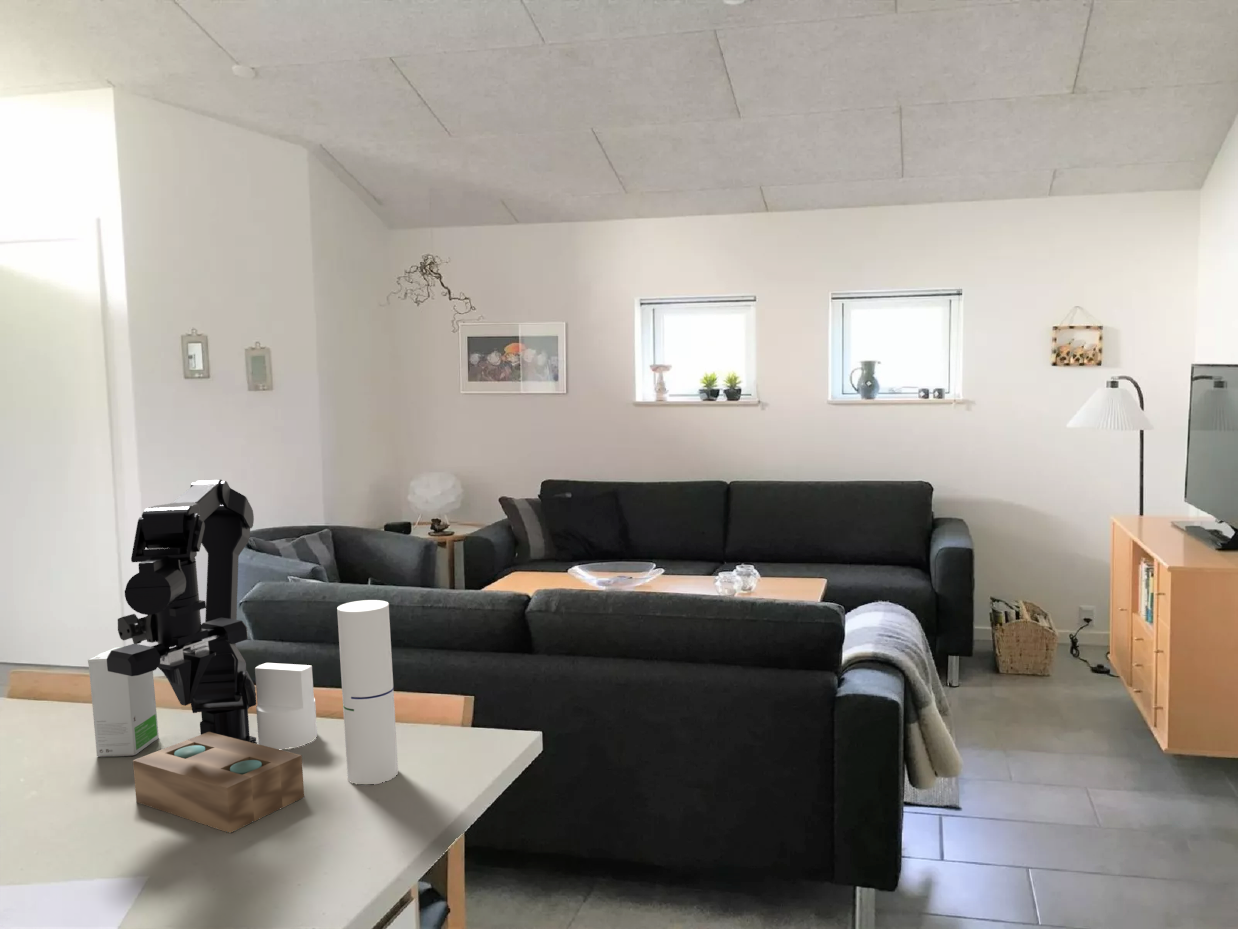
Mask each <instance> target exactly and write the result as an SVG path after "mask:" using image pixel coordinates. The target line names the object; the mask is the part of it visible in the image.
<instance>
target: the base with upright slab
mask: <svg viewBox="0 0 1238 929" xmlns="http://www.w3.org/2000/svg"><path fill="white" fill-rule="evenodd" d="M254 672H255V673H254V674H255V692H256V705H255V706H256V707H255V708H256V709H255V711H256V723H257V739H258V740H257V741H258V744H259V745H263V746H267V747H271V748H275V749H285V748H289V747H297V746H300V745H303V744H307V743H308V742H310V741H312V740H313V739H314V738H315V737H317V738H318V726H317V723H318V722H317V710H316V698H315V697H314V696H315V695H314V678H313V666H312V665H309V664H308V665H307V664H297V663H296V664H295V663H294V664H293V663H276V662H265V663H262V664H258V665H257V666H256V667H255V668H254ZM307 745H308V744H307Z"/></svg>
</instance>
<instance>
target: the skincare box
mask: <svg viewBox="0 0 1238 929" xmlns="http://www.w3.org/2000/svg"><path fill="white" fill-rule="evenodd" d="M149 646H150V647H151V646H152V645H149ZM121 647H122V646H119V647H118V646H117V647H116V646H115V647H113V648H111V649H108V650H107V651H104V652H103V651H102V652H100V653H98V654H97V655H96V656H93V657H91V658H89V659H87V664H88V673H89V674H88V675H89V684H90V693H91V694H90V696H91V703H92V705H91V706H92V716H93V717H92V718H93V728H94V729H93V730H94V736H95V750H96V757H100V758H101V757H129V756H136V755H138V754H139V752H141V751H143V750H144V749H145V748H147V747H149V745H151V744H152V743H155V741H157V740H158V739H159V737H160V736H159V735H160V734H159V727H158V723H159V722H158V714H157V713H158V712H157V705H156V704H157V702H156V693H155V692H156V691H155V680H154V671H151V672H148V673H145V674H141V675H138V676H128V675H123V674H119V673H114V672H109V671H108V669H107V657H108V655H109V653H110V652H111V650H114V649H118V648H121Z"/></svg>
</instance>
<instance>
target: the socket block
mask: <svg viewBox="0 0 1238 929" xmlns="http://www.w3.org/2000/svg"><path fill="white" fill-rule="evenodd" d="M194 745H200V746H204V747H205V751H204V752H202V753H199V754H197V755H194V756H192V757H189V758H186V759H184V758H181V757H177V756H174V753H175V751H177V750H178V749H180V748H183V747H187V746H194ZM302 757H303V756H302V754H298V753H294V752H290V751H286V750H279V749H275V748H271V747H267V746H263V745H259V743H254V742H252V743H251V742H247V741H243V740H239V739H235V738H231V737H227V736H223V735H219V734H215V733H212V732H207V733H204V734H202V735H201V734H199V735H197V736H194V737H191V738H189V739H186V740H183V741H181V742H178V743H175V744H173V745H170V746H167V747H164V748H162V749H159V750H156V751H153V752H151V753H149V754H146V755H144V756H141V757H137V758H136V759H133V760H132V766H133V768H132V769H133V776H134V790H135V801H136V803H137V804H141V805H144V806H147V807H150V808H153V809H155V810H157V811H158V810H159V811H162V812H165V813H167V814H171V815H174V816H177V817H180V818H183V819H186V820H189V821H192V822H195V821H196V823H199V824H201V825H205V826H207V825H208V827H210V828H214V829H216V828H217V829H216V830H220V831H222V832H225V833H228V832H230V833H229V834H231V832H232V831H234V832H235V830H236V831H237V829H238V830H240V829H242V828H244V827H245V825H246V826H247V825H250V824H252V823H253V822H252V821H254V822H257V821H258V820H260V819H262V817H263V818H264V816H265V817H266V815H267V816H269V815H271V814H273V813H274V811H275V812H277V811H280V810H281V809H283V808H286V807H287V806H289V805H291V804H293V803H295V801H296V802H298V801H300V800H302V799H303V797H304V798H305V788H304V773H303V769H304V768H303V758H302ZM246 760H258V761H260V762H261V763H262V767H260V768H257V769H255V770H253V771H250V772H248V773H246V774H243V775H241V774H238V773H234V772H231V771H230V767H231V766H232V765H233V764H235V763H238V762H241V761H246ZM301 798H302V799H301ZM280 808H281V809H280ZM259 818H260V819H259ZM251 822H252V823H251ZM239 828H240V829H239ZM226 831H227V832H226ZM232 833H233V832H232Z"/></svg>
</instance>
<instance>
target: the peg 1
mask: <svg viewBox="0 0 1238 929" xmlns="http://www.w3.org/2000/svg"><path fill="white" fill-rule="evenodd" d="M204 751H205V747H204V746H200V745H194V746H187V747H183V748H180V749H178V750H177V751H175V753H174V756H177V757H181V758H184V759H186V758H189V757H192V756H194V755H197V754H199V753H202V752H204Z"/></svg>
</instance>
